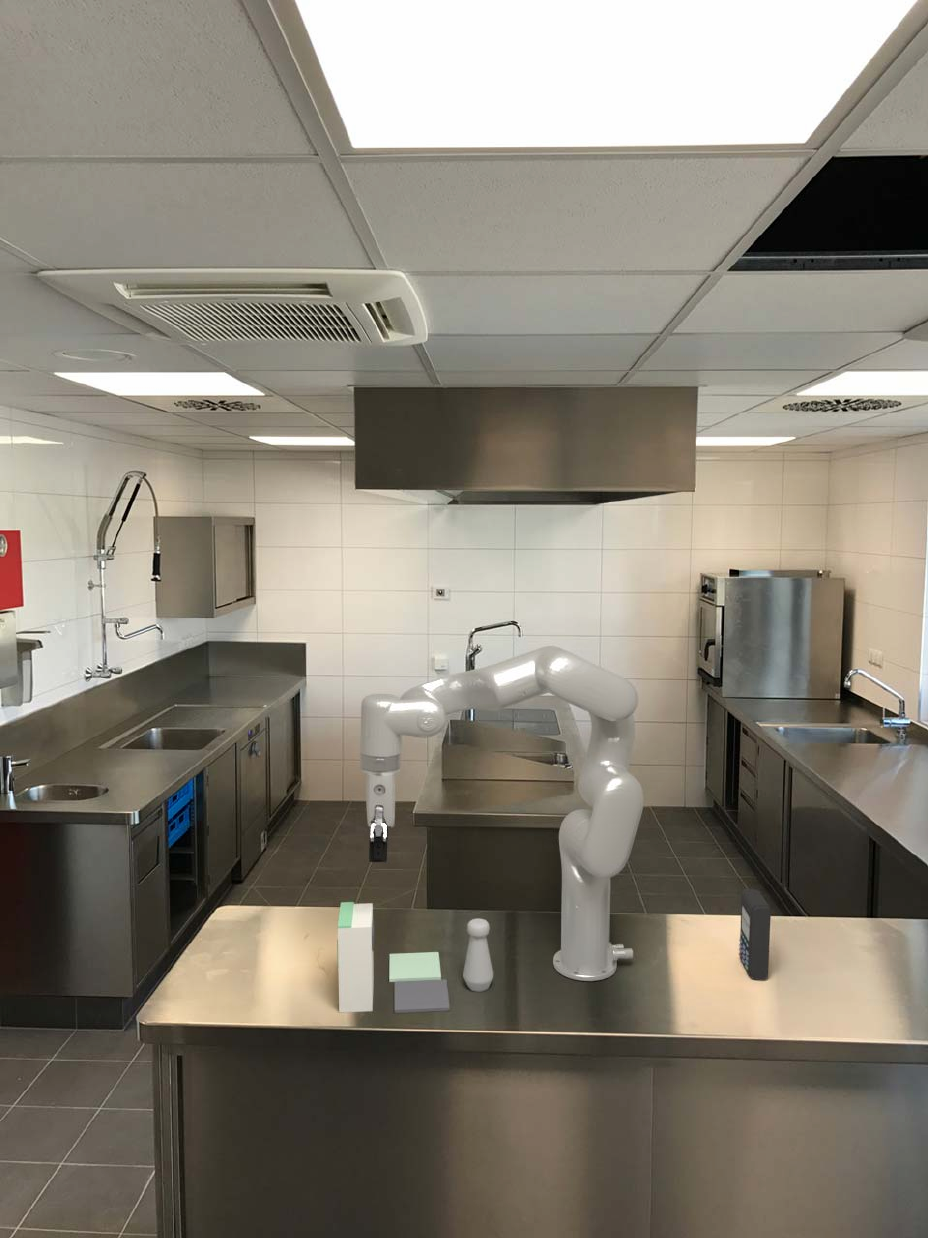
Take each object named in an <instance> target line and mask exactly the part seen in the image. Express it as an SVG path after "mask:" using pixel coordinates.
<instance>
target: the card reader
mask: <svg viewBox="0 0 928 1238" xmlns="http://www.w3.org/2000/svg"><path fill="white" fill-rule="evenodd" d="M740 902H741V904H740V932H739V934H740V936H739V937H740V938H739V939H738V940H739V948H738V951H739V952H738V955H739V959H740V960H741V962H742V965H743V966H744V968H745V970H746V972H747V974H748V976H749V977H750V978H751V979H753V980H761V981H762V980H767V978H768V976H769V965H770V963H769V962H770V961H769V960H770V941H771V940H770V939H771V938H770V937H771V917H772V913H771V912H772V909H771V907H770V905H769V904H768V902H767V900H766V899H765V898H764V897H763V895H762V893H761V892H760V891H759V890H757V889H755V888H745V889H743V890H742V892H741V900H740Z"/></svg>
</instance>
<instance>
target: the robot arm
mask: <svg viewBox="0 0 928 1238" xmlns="http://www.w3.org/2000/svg"><path fill="white" fill-rule="evenodd" d="M548 693H549V694H551V695H552V696H555V697H556V698H558V699H560V700H562V701H564V702H566V703H568V704H571V705H572V706H575V707H577V708H579V709H581V710H583V711H586V712H588V715H589V717H590V718H589V719H590V723H591V724H590V726H591V730H590V735H589V736H590V737H589V741H588V746H587V750H586V754H585V757H584V761H583V764H582V768H581V771H580V775H579V778H578V783H577V788H578V789H577V790H578V793H579V795H580V796H581V798H582V800H583V801H585V802H586V803H587V805H588V806H590V807H591V808H592V810H589V809H582V808H580V809H575V810H573V811H571V812H569V813H568V814H567V815H566V816H565V817H564V819H563V820H562V822H561V824H560V827H559V831H558V843H559V844H558V846H559V854H560V862H561V863H560V864H561V915H560V916H561V917H560V918H561V919H560V921H561V923H560V924H561V925H560V927H561V931H560V932H561V933H560V937H561V938H560V950H558V951H557V952H555V954H554V955H553V959H552V964H553V967H554V969H555V970H556V971H557V972H558V973H559V974H560V975H562V976H564V977H567V978H568V979H572V980H575V981H581V982H582V981H583V982H594V981H601V980H605V979H607V978H610V977H611V976H612V975H614V974H615V973H616V971H617V967H618V965H617V964H618V963H617V961H618V960H619V959H626V960H627V959H629V960H630V959H633V958H634V950H633V948H632V947H628V948H625V947H624V944H623V943H616V944H612V943H611V942H610V924H611V923H610V920H611V919H610V916H611V915H610V912H611V911H610V909H611V878H612V877H615V876H616V875H618V874H620V872H621V871H622V870H623V869H624V867H625V866H626V864H627V862H628V860H629V858H630V855H631V853H632V849H633V846H634V842H635V838H636V835H637V831H638V828H639V824H640V820H641V817H642V814H643V809H644V791H643V788H642V785H641V784H640V782H639V780H638V779H637V778H636V777H635V776H634V775H633V774H632V773H630V772H629V767H630V763H631V759H632V753H633V749H634V745H635V741H636V740H635V739H636V738H635V737H636V723H635V716H634V714H635V711H636V710H637V708H638V704H639V695H638V691H637V689H636V687H635V685H634V684H633V683H632V682H631V680H629V679H628V678H625V677H622V676H621V675H618V674H616V673H614V672H611V671H610V670H608V669H605V668H602V667H601V666H599V665H596V664H595V663H592V662H590V661H588V660H586V659H584V658H582V657H580V656H579V655H577V654H575V653H573V652H571V651H568V650H566V649H563V648H561V647H558V646H553V645H551V646H550V645H548V646H543V647H540V648H536V649H533V650H531V651H528V652H526V653H521V654H520V655H517V656H514V657H511V658H509V659H506V660H503V661H499V662H497V663H494V664H492V665H491V664H490V665H488V666H485V667H482V668H481V667H480V668H475V669H471V670H467V671H463V672H457V673H454V674H449V675H445V676H441V677H438V678H436V679H433V680H431V681H427V682H424V683H420V684H418V685H416V686H414V687H411V688H410V689H408V690H406V691H405V692H404V693H403V694H402V695H401V696H400V697H399V696H398V695H394V694H388V693H373V694H369V695H366V696H364V698H363V699H362V701H361V706H360V708H361V710H360V752H359V753H360V754H359V755H360V756H359V757H360V758H359V759H360V760H359V771H361V772H362V773H364V774H366V779H365V781H366V783H365V786H366V788H365V789H366V790H365V793H366V794H365V798H366V799H365V801H366V802H365V803H366V819H367V826H368V827H369V828H370V839H369V843H368V844H369V847H368V850H369V852H368V855H369V856H368V861H369V862H370V863H387V861H388V833H389V832H388V830H389V827H390V828H394V827H395V819H396V818H395V815H396V774H397V773H399V772H401V771H402V743H403V742H402V737H403V736H407V737H412V738H413V737H414V738H424V739H425V738H427V739H428V738H432V737H434V736H437V735H438V734H440V733H441V732H442V731H443V730H444V728H445V727H446V723H447V715H450V714H454V713H457V712H463V711H467V710H468V711H469V710H478V711H479V710H481V711H501V710H504V709H508V708H509V707H513V706H515V705H518V704H520V703H523V702H526V701H529V700H531V699H535V698H537V697H540V696H542V695H545V694H548Z"/></svg>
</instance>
